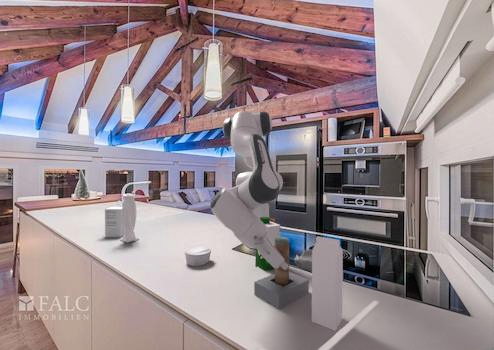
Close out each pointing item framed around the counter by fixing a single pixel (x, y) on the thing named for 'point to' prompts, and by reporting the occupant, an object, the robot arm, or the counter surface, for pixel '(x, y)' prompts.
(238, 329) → the counter surface
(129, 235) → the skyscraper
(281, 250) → the peg
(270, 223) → the milk carton
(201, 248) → the ramekin
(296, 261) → the dish
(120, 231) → the supplement box
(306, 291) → the socket block
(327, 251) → the milk
